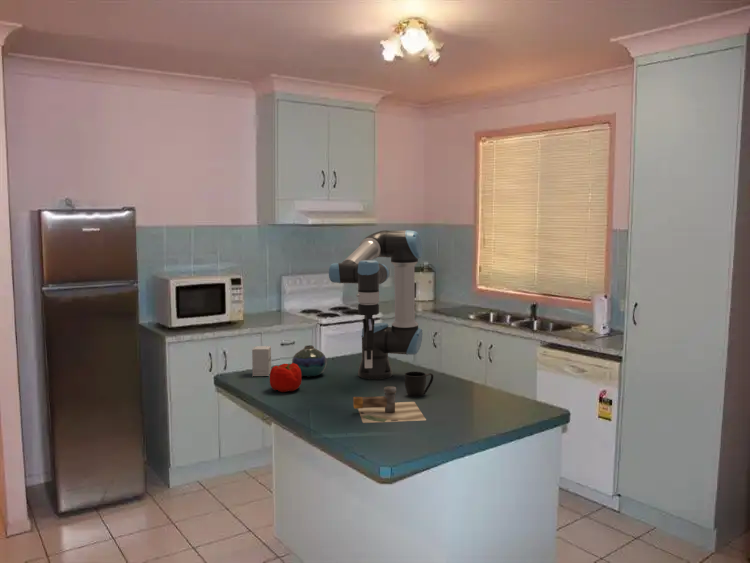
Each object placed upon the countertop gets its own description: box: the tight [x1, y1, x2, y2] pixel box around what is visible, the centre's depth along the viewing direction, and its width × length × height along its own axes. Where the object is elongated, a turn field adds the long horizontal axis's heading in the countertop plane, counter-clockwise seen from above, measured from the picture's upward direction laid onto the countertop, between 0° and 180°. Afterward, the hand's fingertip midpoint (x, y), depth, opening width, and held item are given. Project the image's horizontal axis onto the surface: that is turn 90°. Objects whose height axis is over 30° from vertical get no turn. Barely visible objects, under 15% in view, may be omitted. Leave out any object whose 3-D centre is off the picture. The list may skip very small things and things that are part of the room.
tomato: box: [269, 362, 302, 393], centre depth 262 cm, size 14×13×10 cm
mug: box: [404, 371, 434, 398], centre depth 252 cm, size 8×12×10 cm
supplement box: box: [251, 345, 272, 377], centre depth 286 cm, size 7×7×13 cm
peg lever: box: [352, 385, 397, 413], centre depth 228 cm, size 15×4×8 cm, turn 97°
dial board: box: [357, 401, 427, 424], centre depth 230 cm, size 22×22×1 cm
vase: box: [291, 344, 328, 378], centre depth 286 cm, size 15×15×13 cm
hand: (368, 367), depth 233 cm, fingers closed
